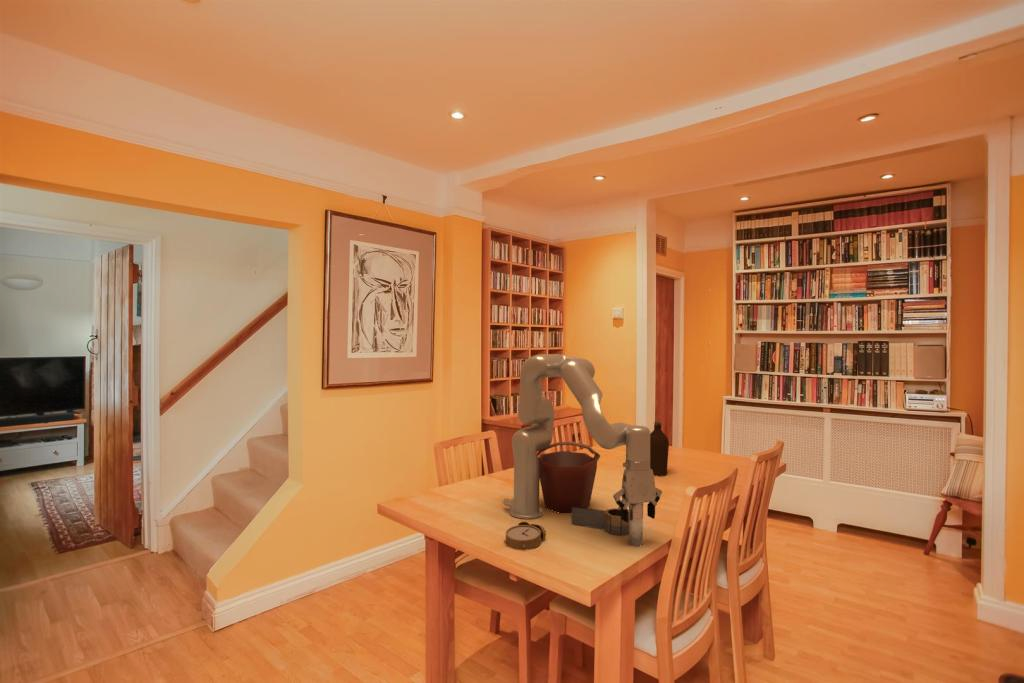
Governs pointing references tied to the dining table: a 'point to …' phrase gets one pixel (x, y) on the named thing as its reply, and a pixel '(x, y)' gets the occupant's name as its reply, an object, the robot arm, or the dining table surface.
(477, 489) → the dining table surface
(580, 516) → the hinge
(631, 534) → the hinge pin
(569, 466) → the bucket
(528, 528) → the alarm clock
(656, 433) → the olive oil
